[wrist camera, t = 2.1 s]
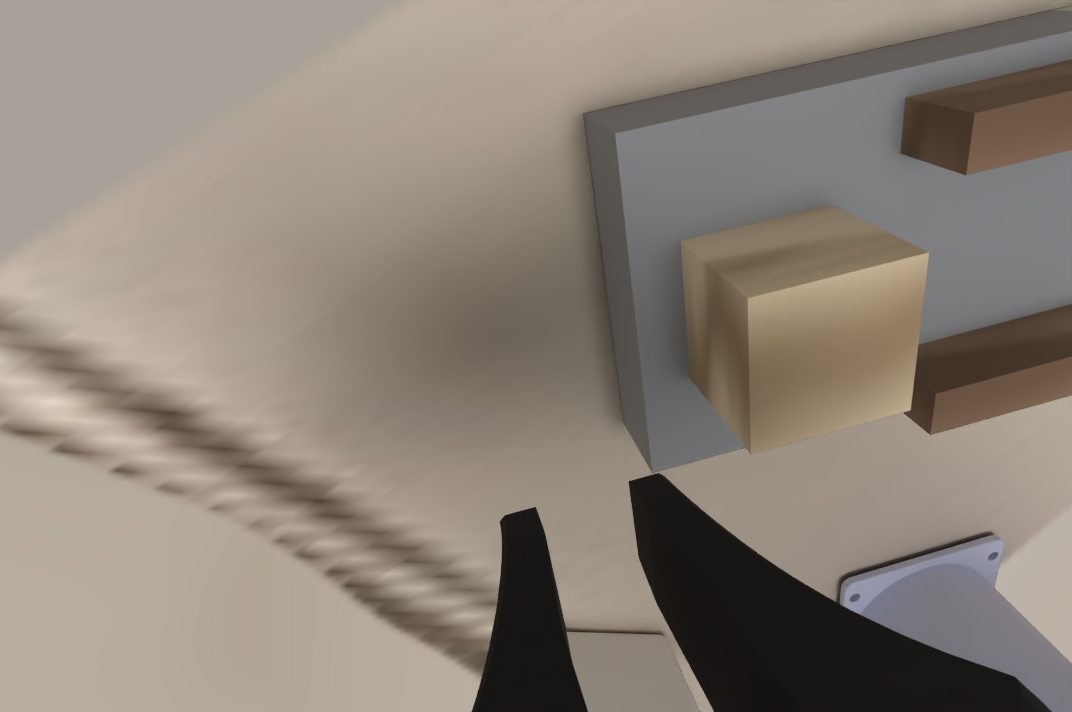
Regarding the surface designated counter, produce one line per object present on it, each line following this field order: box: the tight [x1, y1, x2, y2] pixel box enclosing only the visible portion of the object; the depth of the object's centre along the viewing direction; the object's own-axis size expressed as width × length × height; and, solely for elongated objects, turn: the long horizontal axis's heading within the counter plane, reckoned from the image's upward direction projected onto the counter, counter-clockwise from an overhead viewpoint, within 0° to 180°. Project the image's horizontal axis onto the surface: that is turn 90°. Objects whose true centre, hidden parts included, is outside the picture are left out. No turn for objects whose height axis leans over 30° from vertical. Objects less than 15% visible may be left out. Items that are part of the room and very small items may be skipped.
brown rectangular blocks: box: [900, 60, 1072, 435], centre depth 20 cm, size 10×7×2 cm
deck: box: [584, 6, 1072, 473], centre depth 23 cm, size 11×28×3 cm, turn 100°
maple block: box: [680, 205, 929, 454], centre depth 19 cm, size 4×4×4 cm
